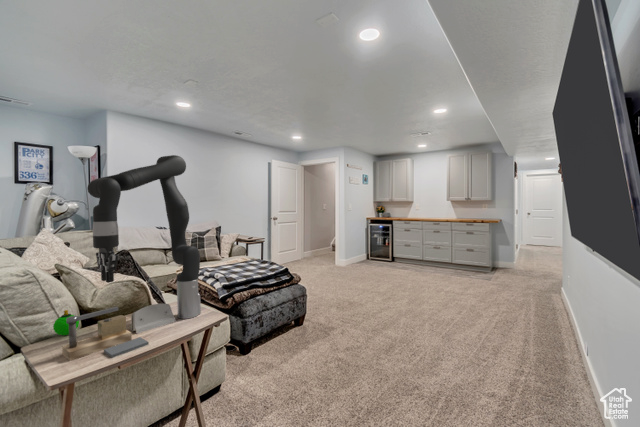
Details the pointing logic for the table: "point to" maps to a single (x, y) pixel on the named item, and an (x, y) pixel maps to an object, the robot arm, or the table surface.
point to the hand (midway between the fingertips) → (107, 281)
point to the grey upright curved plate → (151, 317)
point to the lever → (90, 315)
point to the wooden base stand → (90, 343)
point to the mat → (125, 347)
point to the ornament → (63, 324)
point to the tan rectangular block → (111, 327)
